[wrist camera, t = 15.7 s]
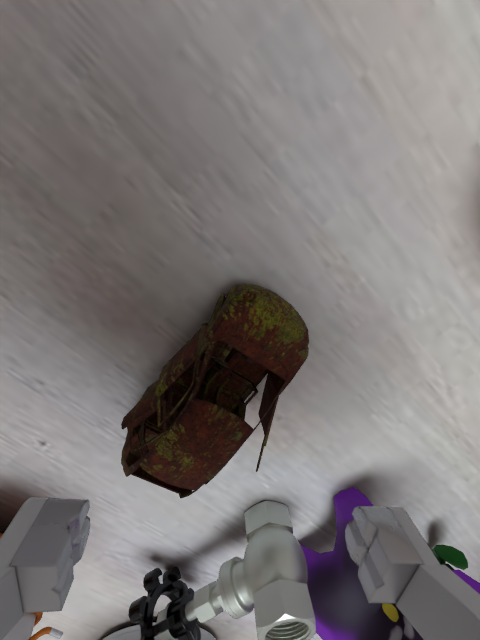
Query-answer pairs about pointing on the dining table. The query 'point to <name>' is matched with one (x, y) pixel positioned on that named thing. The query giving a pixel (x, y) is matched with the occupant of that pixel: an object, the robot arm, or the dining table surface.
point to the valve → (239, 587)
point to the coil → (30, 627)
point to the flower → (359, 586)
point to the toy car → (215, 391)
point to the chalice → (132, 635)
